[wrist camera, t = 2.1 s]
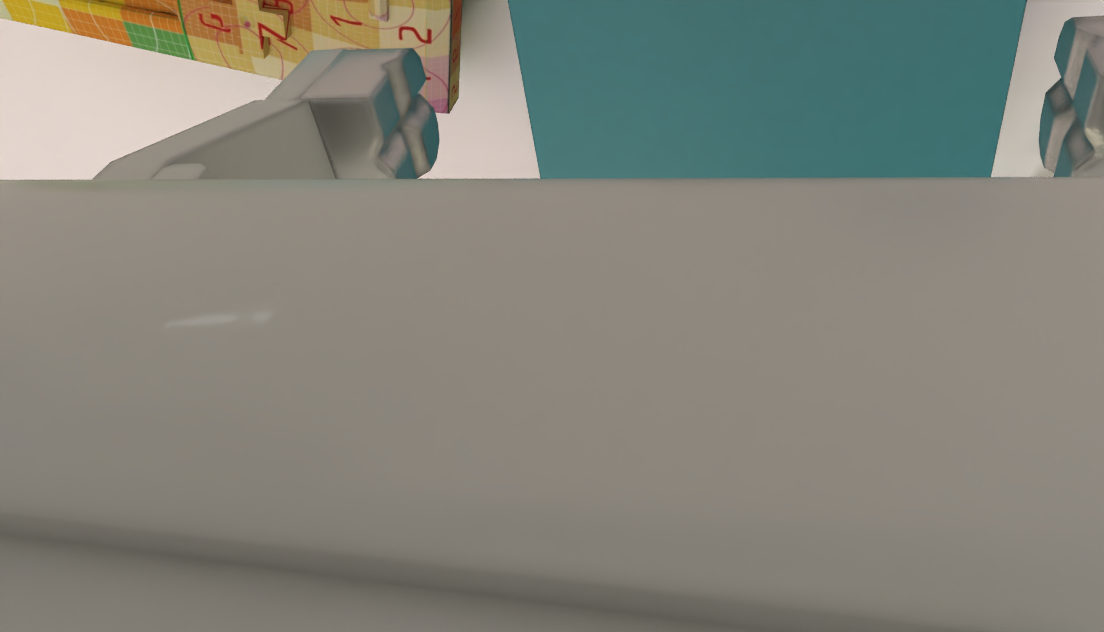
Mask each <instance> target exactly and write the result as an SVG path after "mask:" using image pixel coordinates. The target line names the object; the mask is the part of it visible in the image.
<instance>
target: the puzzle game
mask: <svg viewBox="0 0 1104 632" xmlns="http://www.w3.org/2000/svg"><path fill="white" fill-rule="evenodd" d="M0 18H3V19H8V20H12V21H17V22H22V23H26V24H31V25H36V26H40V27H45V28H50V29H55V30H59V31H64V32H69V33H73V34H78V35H82V36H87V37H91V38H96V39H100V40H105V41H109V42H114V43H118V44H123V45H127V46H132V47H136V48H141V49H145V50H150V51H154V52H159V53H163V54H168V55H172V56H177V57H181V58H186V59H190V60H195V61H199V62H204V63H208V64H213V65H217V66H222V67H226V68H231V69H235V70H240V71H244V72H249V73H253V74H258V75H262V76H267V77H271V78H276V79H280V80H284V79H285V78H286V77H287V76H288V75H289V74H290V73H291V72H292V70H293V69H294V68H295V67H296V66H297V65H298V64H299V63H300V62H301V61H302V60H303V59H304V58H305V57H306V56H307V55H308V54H309V52H310V51H314V50H328V49H343V48H346V49H348V50H350V49H389V48H413V49H414V50H415V51H416V52H417V54H418V55H419V56H420V58H421V61H422V65H423V68H424V72H425V75H426V82H425V84H424V86H423V89H422V91H421V93H420V94H421V95H422V96H423V97H424V98H425V99H426V100H427V101H428V102H429V103H430V104H431V105H432V106H433V107H434V110H435V112H436V113H448V114H449V113H450V111H451V110H452V108H453V106H454V104H455V103H456V101H457V99H458V97H459V71H460V45H461V19H462V0H0Z"/></svg>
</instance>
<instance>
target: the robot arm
mask: <svg viewBox="0 0 1104 632" xmlns="http://www.w3.org/2000/svg"><path fill="white" fill-rule="evenodd" d="M1054 59H1055V62H1056V64H1057V67H1058V69H1059V72H1060V74H1061V77H1062V78H1061V79H1060V80H1059V81H1058V82H1057V83H1055V84H1054V85H1053V86H1052V87H1051V88H1050V89H1049V90H1048V91H1047V92H1046V94H1045V99H1044V104H1043V109H1042V114H1041V119H1040V132H1039V146H1040V156H1041V159H1042V162H1043V166H1044V168H1046V169H1048V170H1049V171H1051V172H1053V173H1054V177H885V178H546V179H417V178H418V177H420V176H422V175H424V174H425V173H427V172H429V171H430V170H431V168H432V166H433V165H434V163H435V161H436V159H437V153H438V146H439V131H438V122H437V118H436V114H435V110H434V107H433V106H432V105H431V104H430V103H429V102H428V101H427V100H426V99H425V98H424V97H423V96H422V95H421V94H420V93H421V91H422V89H423V86H424V84H425V82H426V75H425V72H424V68H423V65H422V61H421V58H420V56H419V55H418V54H417V52H416V51H415V50H414V49H413V48H389V49H350V50H348V49H346V48H343V49H328V50H314V51H310V52H309V54H308V55H307V56H306V57H305V58H304V59H303V60H302V61H301V62H300V63H299V64H298V65H297V66H296V67H295V68H294V69H293V70H292V72H291V73H290V74H289V75H288V76H287V77H286V78H285V79H284V80H283V81H282V82H281V83H280V84H279V85H278V86H277V87H276V88H275V89H274V91H273V92H272V93H271V94H270V95H269V96H268V97H267V98H266V99H265V100H257V101H253V102H250V103H248V104H246V105H243V106H241V107H239V108H236V109H234V110H232V111H229V112H227V113H225V114H222V115H220V116H217V117H215V118H213V119H210V120H208V121H206V122H203V123H201V124H199V125H196V126H194V127H192V128H189V129H187V130H185V131H182V132H180V133H178V134H175V135H173V136H171V137H168V138H166V139H164V140H161V141H159V142H157V143H154V144H152V145H149V146H147V147H145V148H142V149H140V150H138V151H135V152H133V153H131V154H128V155H126V156H124V157H121V158H119V159H117V160H114V161H112V162H110V163H109V164H108V165H107V166H106V167H105V168H104V169H103V170H102V171H100V172H99V173H98V174H97V175H96V176H95V177H94V178H93V179H92V180H0V632H1104V16H1089V17H1074V18H1071V19H1069V20H1068V21H1066V22H1065V23H1064V26H1063V28H1062V31H1061V33H1060V36H1059V39H1058V43H1057V48H1056V52H1055V56H1054Z"/></svg>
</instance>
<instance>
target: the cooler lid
mask: <svg viewBox="0 0 1104 632" xmlns="http://www.w3.org/2000/svg"><path fill="white" fill-rule="evenodd" d="M1026 2H1027V0H508V4H509V9H510V15H511V20H512V25H513V31H514V36H515V42H516V47H517V53H518V58H519V64H520V69H521V74H522V80H523V85H524V91H525V96H526V102H527V107H528V113H529V118H530V123H531V129H532V134H533V140H534V145H535V151H536V156H537V162H538V167H539V172H540V178H541V179H546V178H885V177H991V173H992V168H993V163H994V159H995V154H996V149H997V144H998V139H999V134H1000V129H1001V124H1002V119H1003V114H1004V110H1005V105H1006V100H1007V95H1008V90H1009V85H1010V80H1011V75H1012V70H1013V66H1014V61H1015V56H1016V51H1017V46H1018V41H1019V36H1020V31H1021V26H1022V21H1023V17H1024V12H1025V7H1026Z"/></svg>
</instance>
